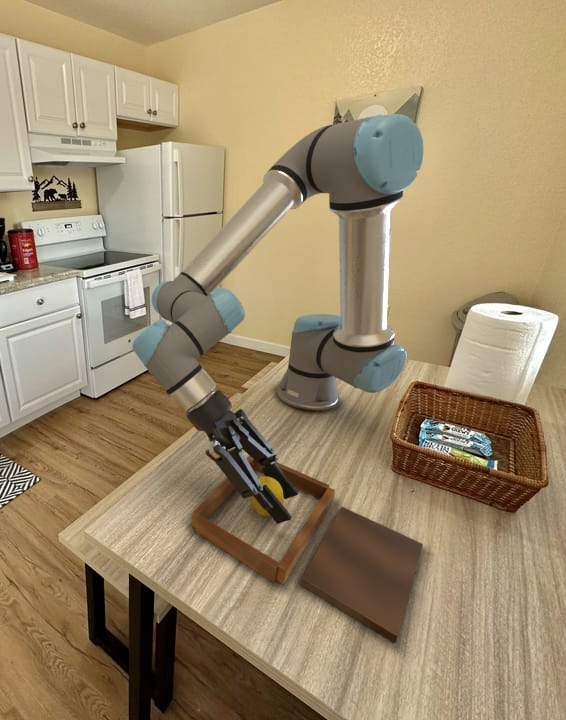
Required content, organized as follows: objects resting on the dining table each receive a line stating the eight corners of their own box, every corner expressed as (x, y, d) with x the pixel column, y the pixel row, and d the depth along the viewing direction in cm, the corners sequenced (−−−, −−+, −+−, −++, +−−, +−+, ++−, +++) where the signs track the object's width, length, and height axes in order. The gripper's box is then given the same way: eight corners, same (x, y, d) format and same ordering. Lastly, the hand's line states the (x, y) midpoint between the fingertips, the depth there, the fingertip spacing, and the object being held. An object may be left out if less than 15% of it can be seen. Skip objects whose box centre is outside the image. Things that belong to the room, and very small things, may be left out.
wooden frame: (251, 463, 81) (253, 451, 79) (333, 500, 70) (336, 488, 69) (189, 528, 65) (189, 515, 64) (281, 588, 55) (284, 573, 54)
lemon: (282, 528, 65) (288, 492, 62) (248, 523, 66) (252, 487, 63) (278, 504, 70) (284, 469, 67) (247, 500, 71) (251, 466, 68)
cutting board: (340, 512, 68) (341, 506, 67) (420, 550, 60) (423, 543, 60) (300, 584, 56) (301, 577, 55) (394, 643, 48) (397, 636, 48)
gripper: (206, 388, 75) (281, 481, 74) (162, 437, 61) (256, 553, 60) (234, 369, 71) (315, 468, 70) (194, 417, 56) (296, 542, 55)
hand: (288, 507), depth 65 cm, fingers closed on lemon, 5 cm apart
